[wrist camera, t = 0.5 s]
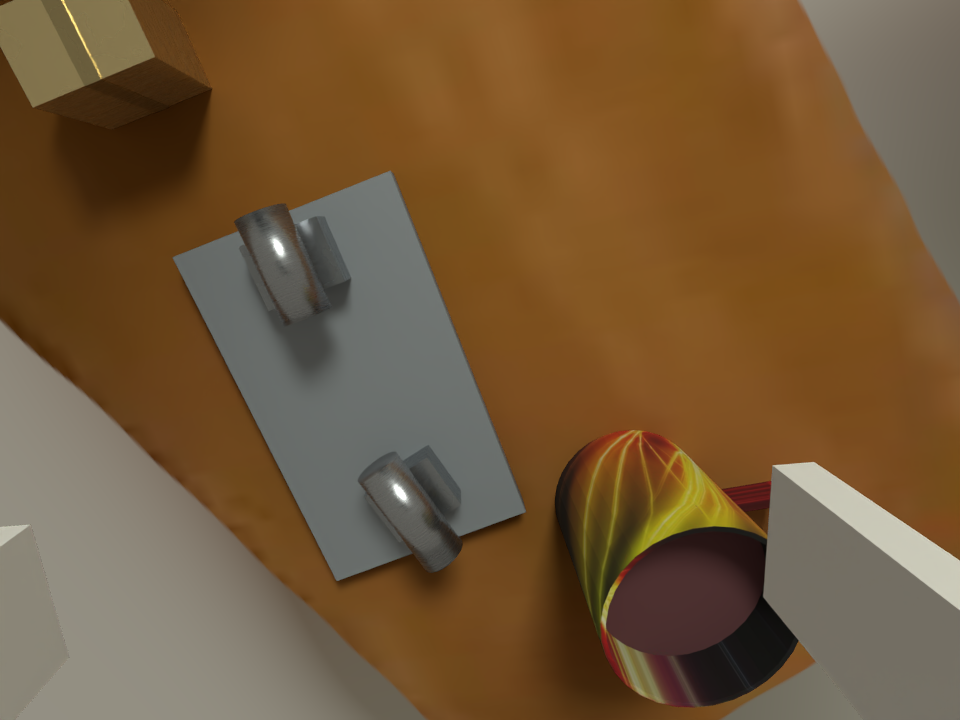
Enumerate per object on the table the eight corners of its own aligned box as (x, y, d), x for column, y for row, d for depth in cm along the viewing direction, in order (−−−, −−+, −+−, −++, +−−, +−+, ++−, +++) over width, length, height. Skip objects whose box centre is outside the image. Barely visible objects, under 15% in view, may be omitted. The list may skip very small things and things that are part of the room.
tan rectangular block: (112, 130, 31) (31, 108, 25) (73, 53, 30) (-20, 11, 24) (212, 89, 31) (154, 57, 25) (176, 10, 30) (107, -43, 24)
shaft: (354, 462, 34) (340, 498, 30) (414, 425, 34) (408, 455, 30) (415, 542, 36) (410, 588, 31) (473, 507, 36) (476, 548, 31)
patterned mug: (777, 481, 38) (921, 595, 26) (602, 587, 39) (664, 740, 27) (710, 366, 36) (834, 434, 24) (527, 481, 37) (560, 599, 25)
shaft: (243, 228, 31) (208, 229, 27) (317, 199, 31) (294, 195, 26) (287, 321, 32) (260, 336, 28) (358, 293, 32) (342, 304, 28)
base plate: (185, 256, 33) (172, 257, 31) (393, 173, 32) (390, 170, 31) (341, 567, 38) (336, 581, 36) (523, 500, 37) (526, 512, 36)
